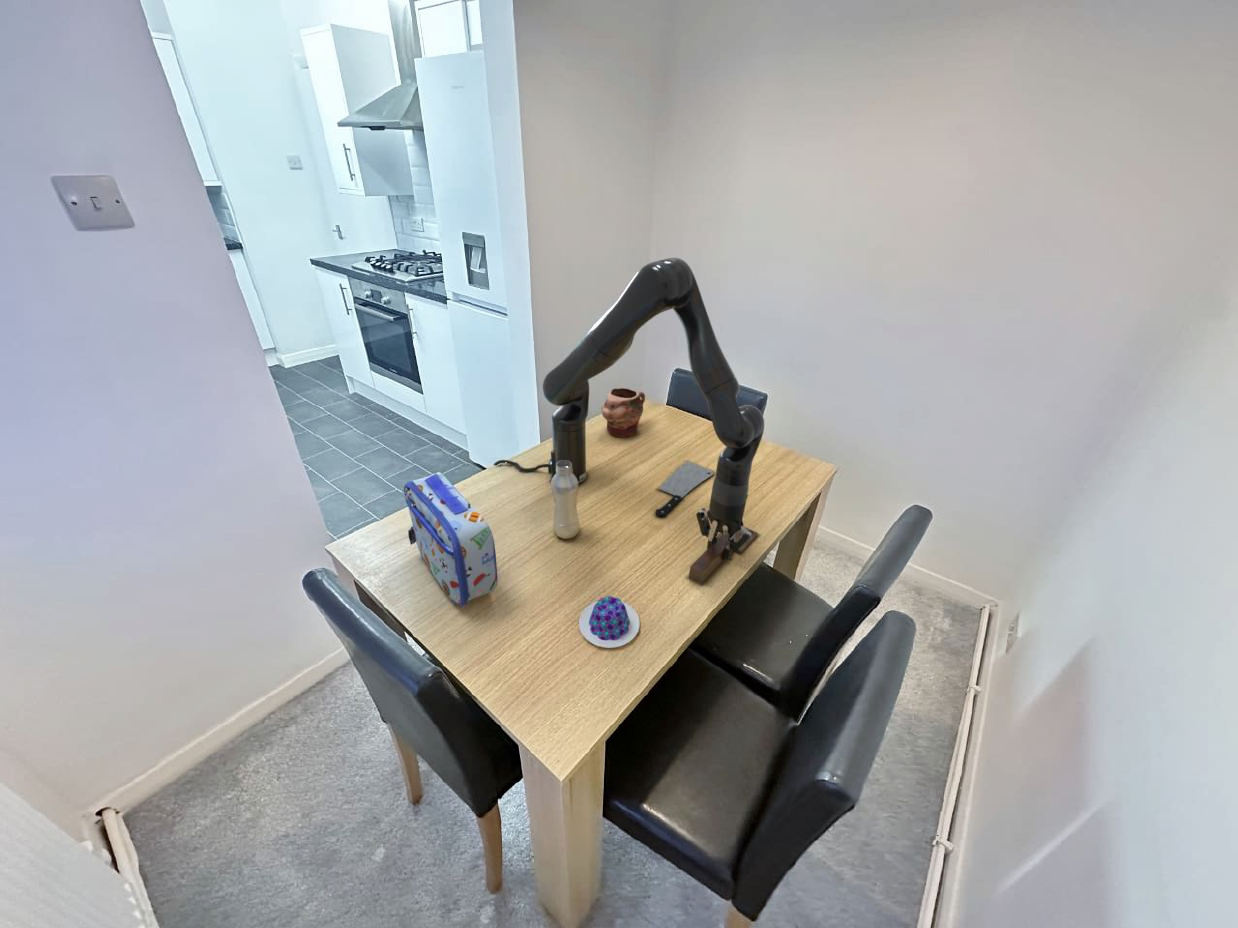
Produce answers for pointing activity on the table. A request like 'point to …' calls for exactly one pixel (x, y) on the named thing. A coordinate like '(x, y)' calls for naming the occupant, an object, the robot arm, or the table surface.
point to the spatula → (713, 557)
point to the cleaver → (682, 484)
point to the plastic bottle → (565, 500)
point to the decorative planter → (623, 411)
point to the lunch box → (451, 538)
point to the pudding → (609, 622)
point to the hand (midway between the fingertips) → (718, 554)
